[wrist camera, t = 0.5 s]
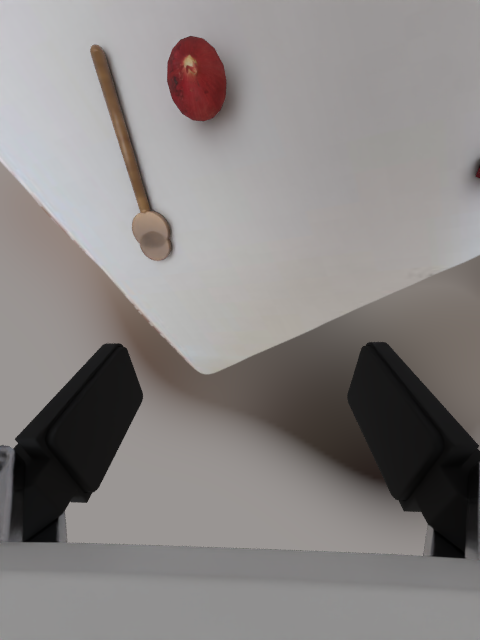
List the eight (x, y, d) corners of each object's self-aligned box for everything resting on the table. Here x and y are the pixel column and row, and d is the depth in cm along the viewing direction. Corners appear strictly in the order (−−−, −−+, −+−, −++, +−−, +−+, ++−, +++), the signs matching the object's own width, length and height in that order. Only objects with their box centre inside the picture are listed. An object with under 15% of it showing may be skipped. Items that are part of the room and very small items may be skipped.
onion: (189, 135, 28) (169, 117, 21) (170, 71, 25) (140, 25, 18) (234, 119, 27) (229, 95, 20) (220, 51, 24) (209, -5, 17)
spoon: (76, 53, 25) (68, 46, 23) (121, 44, 24) (115, 36, 23) (146, 260, 36) (142, 262, 35) (177, 256, 35) (175, 259, 34)
